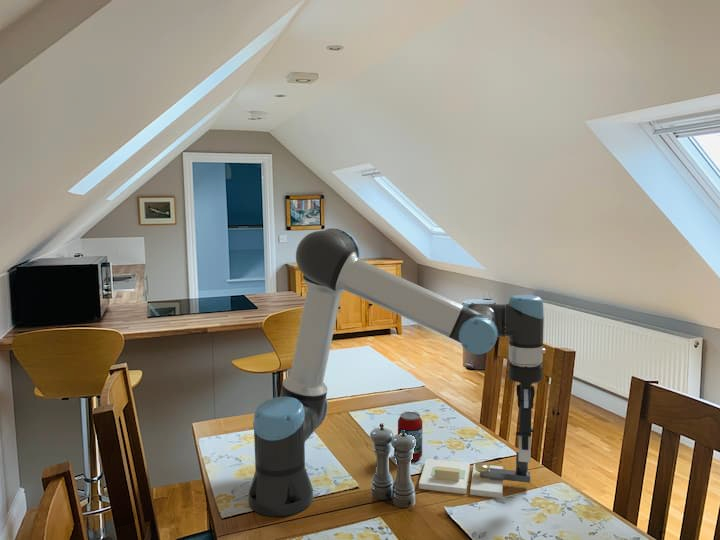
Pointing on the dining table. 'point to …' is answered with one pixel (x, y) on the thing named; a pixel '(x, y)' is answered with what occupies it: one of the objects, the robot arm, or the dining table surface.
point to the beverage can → (412, 430)
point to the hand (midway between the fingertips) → (524, 460)
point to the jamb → (486, 485)
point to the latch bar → (505, 472)
